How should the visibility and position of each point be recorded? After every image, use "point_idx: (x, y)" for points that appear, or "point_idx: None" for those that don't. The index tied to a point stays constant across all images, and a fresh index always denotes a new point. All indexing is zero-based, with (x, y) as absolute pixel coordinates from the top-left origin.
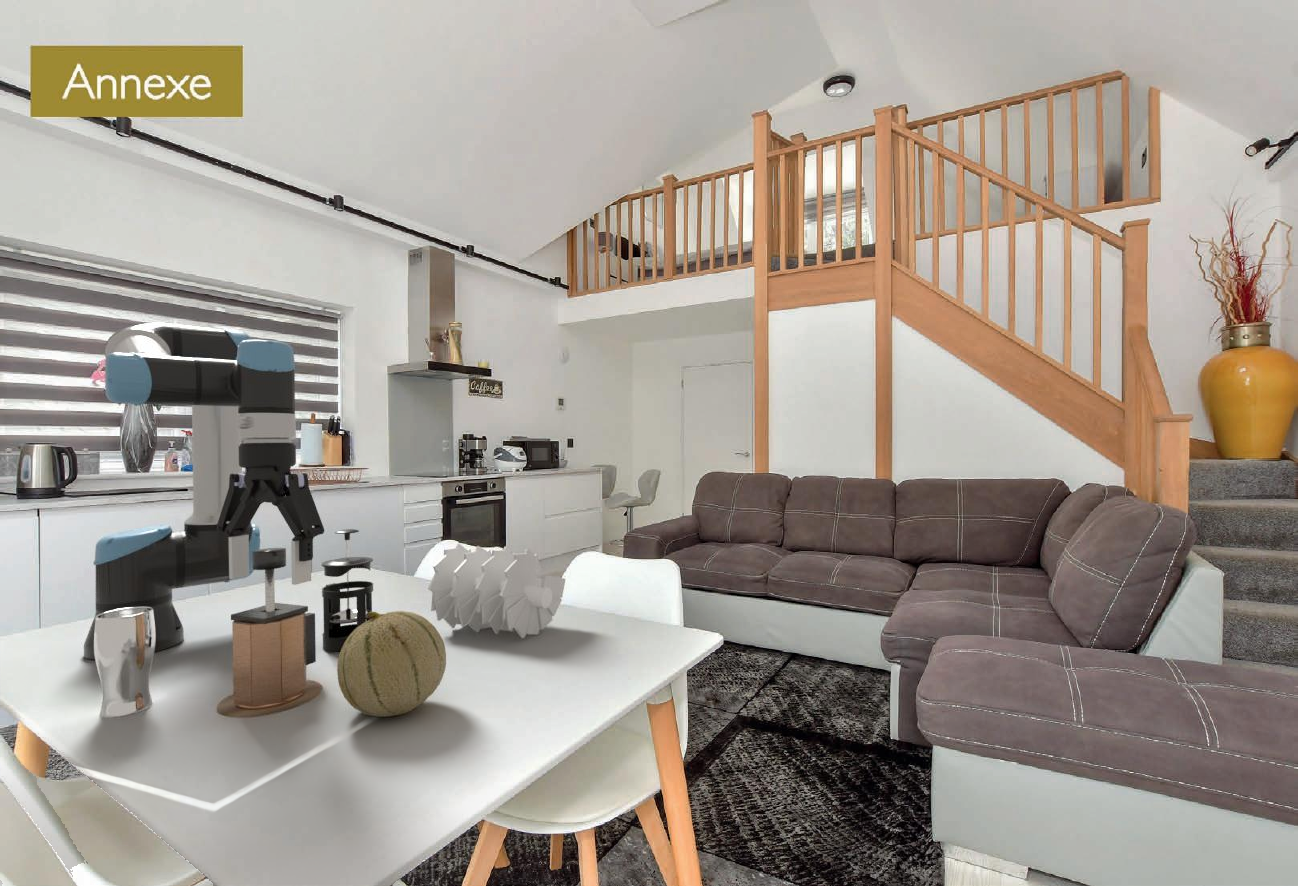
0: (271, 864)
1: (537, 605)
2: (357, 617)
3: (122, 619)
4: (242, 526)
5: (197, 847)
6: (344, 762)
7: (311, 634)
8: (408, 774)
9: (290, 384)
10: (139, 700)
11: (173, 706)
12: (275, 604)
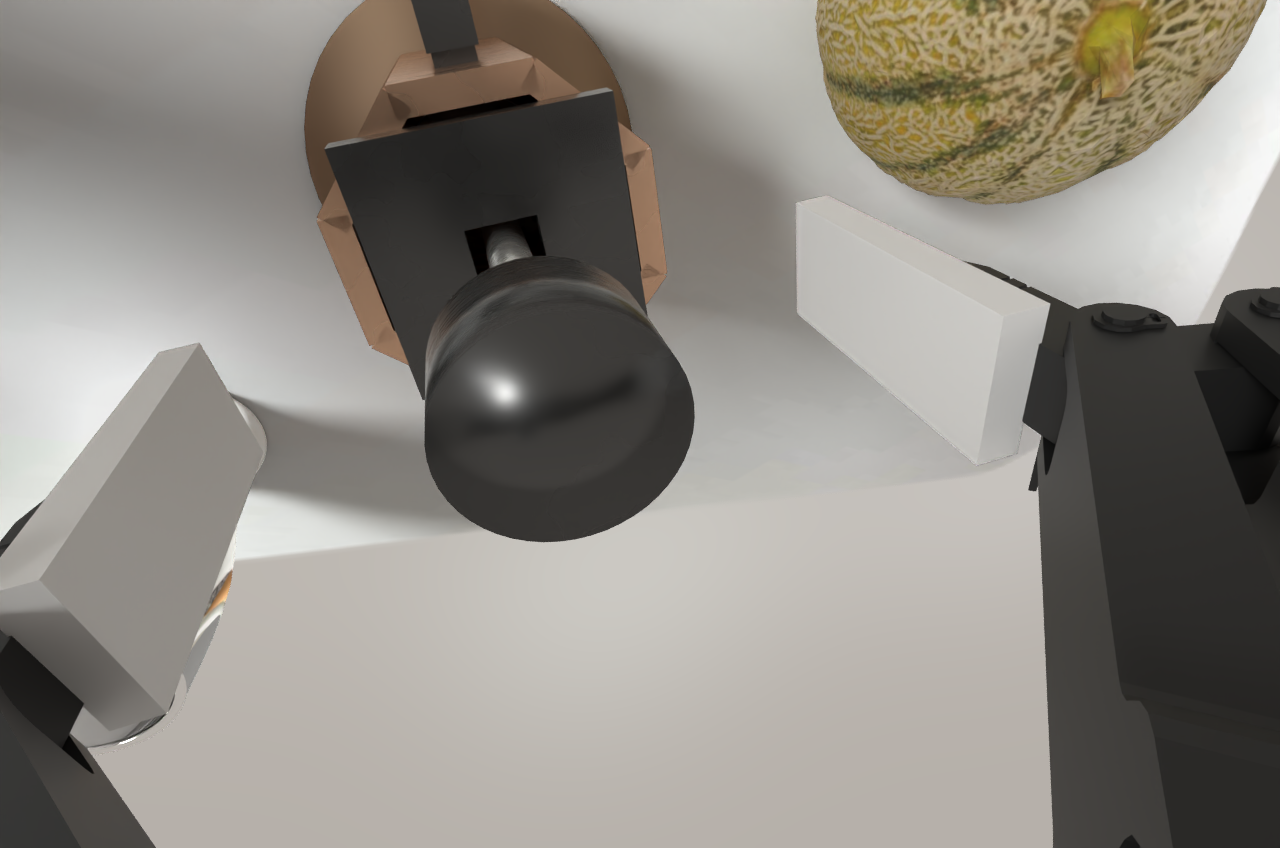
0: (1032, 436)
1: None
2: None
3: (187, 692)
4: (56, 747)
5: (920, 476)
6: (959, 251)
7: None
8: (1100, 209)
9: None
10: None
11: (250, 350)
12: (382, 171)
